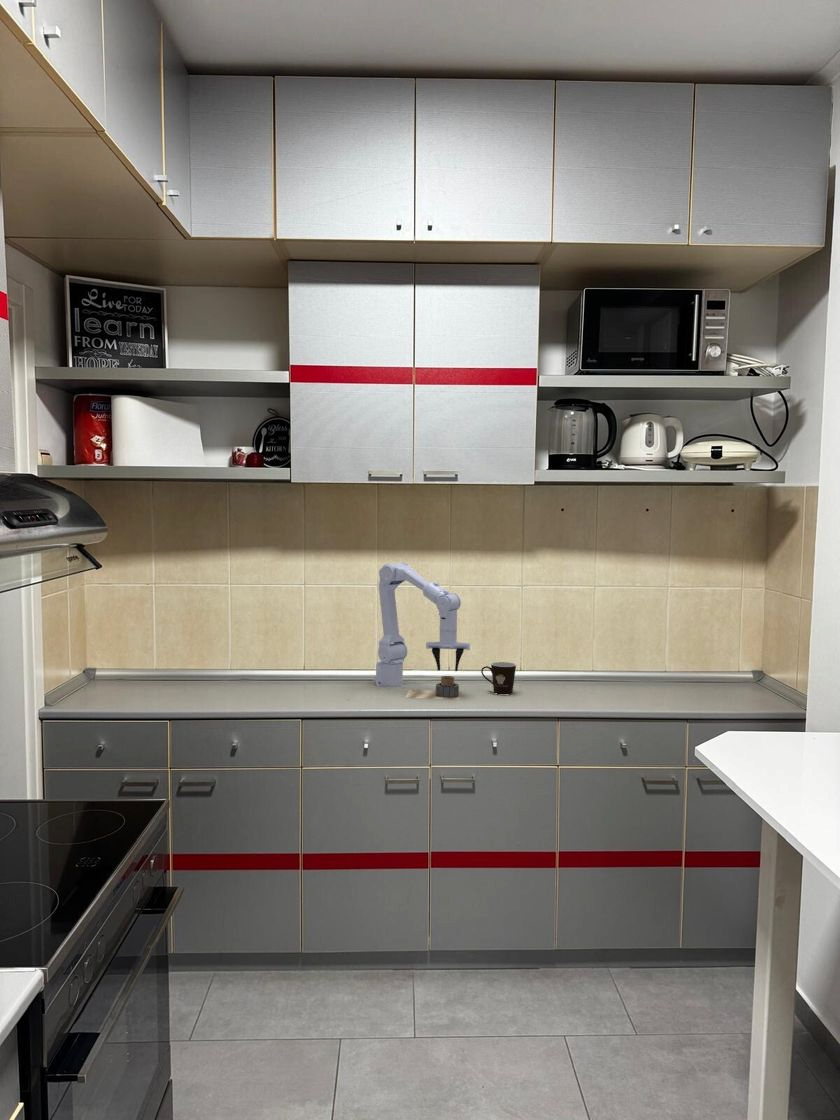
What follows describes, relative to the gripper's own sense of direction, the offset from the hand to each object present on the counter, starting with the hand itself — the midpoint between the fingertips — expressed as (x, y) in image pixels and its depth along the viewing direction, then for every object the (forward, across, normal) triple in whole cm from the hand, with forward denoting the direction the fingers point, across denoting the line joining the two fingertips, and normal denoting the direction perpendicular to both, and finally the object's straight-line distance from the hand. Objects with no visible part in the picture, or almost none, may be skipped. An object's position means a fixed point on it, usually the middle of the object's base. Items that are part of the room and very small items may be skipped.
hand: (447, 670), depth 272 cm
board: (+9, -4, 0) cm, 10 cm away
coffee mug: (+10, +18, +12) cm, 23 cm away
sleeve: (+9, 0, 0) cm, 9 cm away
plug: (+8, 0, 0) cm, 8 cm away
